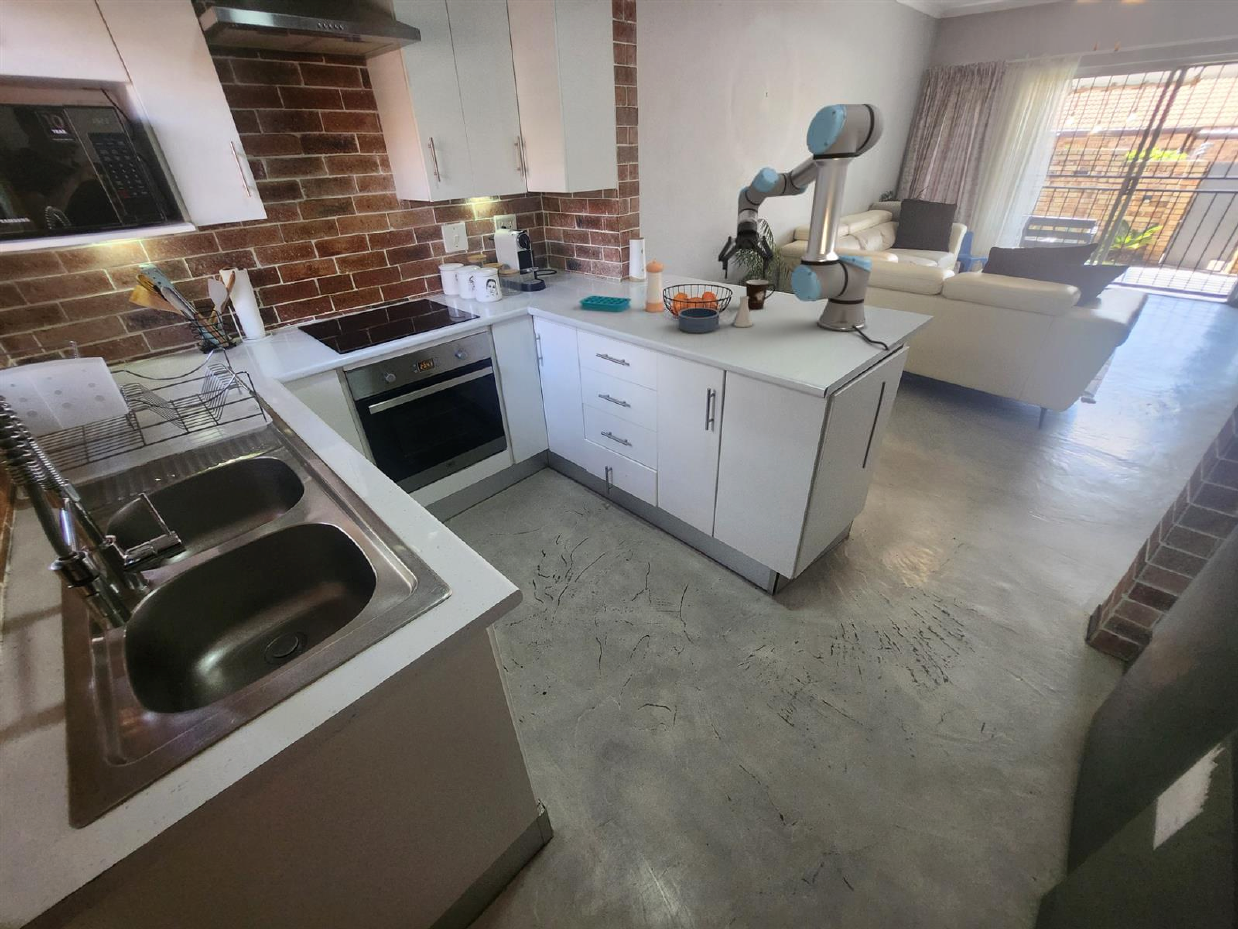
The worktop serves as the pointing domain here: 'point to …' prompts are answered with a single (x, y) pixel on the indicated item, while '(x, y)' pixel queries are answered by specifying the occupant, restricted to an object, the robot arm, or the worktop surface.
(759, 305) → the coffee mug
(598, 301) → the ice cube tray
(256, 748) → the worktop surface
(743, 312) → the flask
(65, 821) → the worktop surface
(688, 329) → the bowl
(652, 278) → the pepper shaker
